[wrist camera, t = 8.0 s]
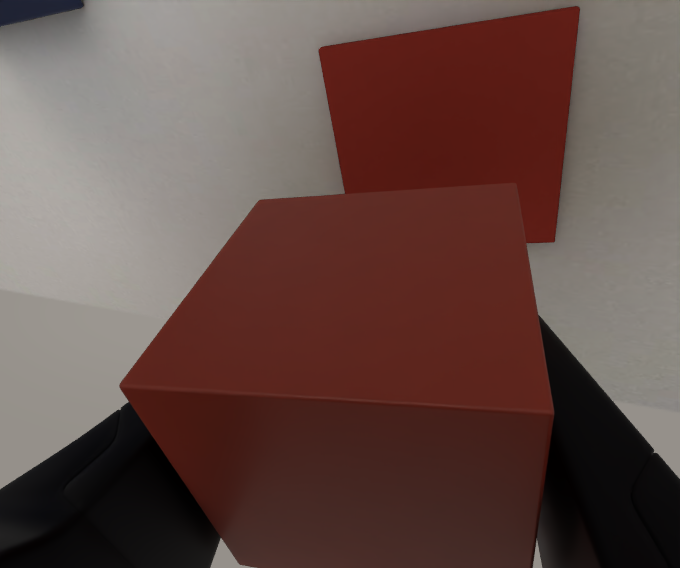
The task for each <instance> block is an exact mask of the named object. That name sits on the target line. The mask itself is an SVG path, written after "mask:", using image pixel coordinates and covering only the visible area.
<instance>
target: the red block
mask: <svg viewBox="0 0 680 568" xmlns="http://www.w3.org/2000/svg"><path fill="white" fill-rule="evenodd" d="M120 389H121V390H122V392H123V393H124V395H125V396H126V398H127V399H128V401H129V402H130V404H131V405H132V407H133V408H134V410H135V411H136V413H137V414H138V416H139V417H140V419H141V420H142V422H143V423H144V424H145V426H146V427H147V429H148V430H149V432H150V433H151V435H152V436H153V438H154V439H155V441H156V442H157V444H158V445H159V447H160V448H161V450H162V451H163V452H164V454H165V455H166V457H167V458H168V460H169V461H170V463H171V464H172V466H173V467H174V469H175V470H176V472H177V473H178V475H179V476H180V478H181V479H182V481H183V482H184V483H185V485H186V486H187V488H188V489H189V491H190V492H191V494H192V495H193V497H194V498H195V500H196V501H197V503H198V504H199V506H200V507H201V509H202V510H203V512H204V513H205V514H206V516H207V517H208V519H209V520H210V522H211V523H212V525H213V526H214V528H215V529H216V531H217V532H218V534H219V535H220V537H221V538H222V540H223V541H224V542H225V544H226V545H227V547H228V548H229V550H230V551H231V553H232V554H233V556H234V557H235V559H236V560H237V562H238V563H239V564H240V565H245V566H250V567H257V568H533V561H534V554H535V547H536V539H537V532H538V525H539V518H540V511H541V504H542V497H543V490H544V483H545V476H546V469H547V462H548V455H549V447H550V440H551V433H552V426H553V419H554V407H553V401H552V395H551V389H550V383H549V377H548V371H547V365H546V359H545V353H544V347H543V341H542V335H541V329H540V323H539V317H538V311H537V305H536V299H535V293H534V287H533V281H532V275H531V269H530V263H529V257H528V251H527V245H526V239H525V233H524V227H523V221H522V215H521V209H520V203H519V197H518V191H517V185H516V183H504V184H489V185H474V186H459V187H444V188H429V189H414V190H399V191H384V192H369V193H354V194H339V195H324V196H309V197H294V198H279V199H264V200H259V201H258V202H257V203H256V205H255V206H254V207H253V208H252V210H251V211H250V212H249V214H248V215H247V216H246V218H245V219H244V220H243V222H242V223H241V224H240V226H239V227H238V228H237V230H236V231H235V232H234V234H233V235H232V236H231V238H230V239H229V240H228V242H227V243H226V244H225V245H224V247H223V248H222V249H221V251H220V252H219V253H218V255H217V256H216V257H215V259H214V260H213V261H212V263H211V264H210V265H209V267H208V268H207V269H206V271H205V272H204V273H203V275H202V276H201V277H200V279H199V280H198V281H197V282H196V284H195V285H194V286H193V288H192V289H191V290H190V292H189V293H188V294H187V296H186V297H185V298H184V300H183V301H182V302H181V304H180V305H179V306H178V308H177V309H176V310H175V312H174V313H173V314H172V316H171V317H170V318H169V320H168V321H167V322H166V324H165V325H164V326H163V327H162V329H161V330H160V332H159V333H158V334H157V336H156V337H155V338H154V339H153V341H152V342H151V343H150V345H149V346H148V347H147V349H146V350H145V351H144V353H143V354H142V355H141V357H140V358H139V359H138V360H137V362H136V363H135V365H134V366H133V367H132V368H131V370H130V371H129V372H128V374H127V375H126V377H125V378H124V379H123V380H122V382H121V383H120Z"/></svg>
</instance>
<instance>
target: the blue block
mask: <svg viewBox="0 0 680 568" xmlns="http://www.w3.org/2000/svg"><path fill="white" fill-rule="evenodd" d="M82 7H83V3H82V1H81V0H0V27H1V26H5V25H10V24H14V23H18V22H23V21H27V20H31V19H36V18H40V17H45V16H49V15H53V14H58V13H62V12H66V11H71V10H75V9H79V8H82Z"/></svg>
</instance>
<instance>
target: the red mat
mask: <svg viewBox="0 0 680 568" xmlns="http://www.w3.org/2000/svg"><path fill="white" fill-rule="evenodd" d="M579 12H580V8H579V7H578V6H574V7H568V8H561V9H555V10H549V11H543V12H536V13H530V14H524V15H518V16H511V17H505V18H499V19H493V20H486V21H480V22H474V23H468V24H461V25H455V26H449V27H443V28H436V29H430V30H424V31H418V32H411V33H405V34H399V35H393V36H386V37H380V38H374V39H368V40H361V41H355V42H349V43H343V44H336V45H330V46H324V47H321V48H320V49H319V56H320V61H321V67H322V72H323V77H324V83H325V88H326V93H327V99H328V104H329V110H330V115H331V120H332V126H333V131H334V136H335V142H336V147H337V152H338V158H339V163H340V169H341V174H342V179H343V185H344V190H345V194H354V193H369V192H384V191H399V190H414V189H429V188H444V187H459V186H474V185H489V184H504V183H516V185H517V191H518V197H519V203H520V209H521V215H522V221H523V227H524V233H525V239H526V243H549V242H555V234H556V225H557V216H558V207H559V197H560V188H561V179H562V170H563V160H564V151H565V142H566V133H567V123H568V114H569V105H570V96H571V86H572V77H573V68H574V59H575V49H576V40H577V31H578V22H579Z"/></svg>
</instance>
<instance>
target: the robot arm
mask: <svg viewBox="0 0 680 568" xmlns="http://www.w3.org/2000/svg"><path fill="white" fill-rule="evenodd" d="M538 317H539V323H540V329H541V335H542V341H543V347H544V353H545V359H546V365H547V371H548V377H549V383H550V389H551V395H552V401H553V407H554V419H553V426H552V433H551V440H550V447H549V455H548V462H547V469H546V476H545V483H544V490H543V497H542V504H541V511H540V518H539V525H538V532H537V541H538V546H539V552H540V557H541V562H542V567H543V568H680V479H679V478H678V477H677V475H675V473H674V472H673V471H672V470H671V469H670V467H669V466H668V465H667V464H666V463H665V461H664V460H663V459H662V458H661V457H660V456H659V455H658V454H657V453H653V452H654V449H653V448H652V447H651V445H650V444H649V443H648V442H647V441H646V440H645V438H644V437H643V436H642V435H641V434H640V433H639V431H638V430H637V429H636V428H635V427H634V426H633V424H632V423H631V422H630V421H629V420H628V419H627V417H626V416H625V415H624V414H623V413H622V412H621V410H620V409H619V408H618V407H617V406H616V405H615V403H614V402H613V401H612V400H611V399H610V398H609V396H608V395H607V394H606V393H605V392H604V390H603V389H602V388H601V387H600V386H599V385H598V383H597V382H596V381H595V380H594V379H593V378H592V376H591V375H590V374H589V373H588V372H587V371H586V369H585V368H584V367H583V366H582V365H581V364H580V362H579V361H578V360H577V359H576V358H575V357H574V355H573V354H572V353H571V352H570V351H569V350H568V348H567V347H566V346H565V345H564V344H563V343H562V341H561V340H560V339H559V338H558V337H557V336H556V334H555V333H554V332H553V331H552V330H551V329H550V327H549V326H548V325H547V324H546V323H545V322H544V320H543V319H542V318H541V317H540V316H539V315H538ZM220 538H221V537H220V535H219V534H218V532H217V531H216V529H215V528H214V526H213V525H212V523H211V522H210V520H209V519H208V517H207V516H206V514H205V513H204V512H203V510H202V509H201V507H200V506H199V504H198V503H197V501H196V500H195V498H194V497H193V495H192V494H191V492H190V491H189V489H188V488H187V486H186V485H185V483H184V482H183V481H182V479H181V478H180V476H179V475H178V473H177V472H176V470H175V469H174V467H173V466H172V464H171V463H170V461H169V460H168V458H167V457H166V455H165V454H164V452H163V451H162V450H161V448H160V447H159V445H158V444H157V442H156V441H155V439H154V438H153V436H152V435H151V433H150V432H149V430H148V429H147V427H146V426H145V424H144V423H143V422H142V420H141V419H140V417H139V416H138V414H137V413H136V411H135V410H134V408H133V407H132V405H131V404H130V402H128V403H127V404H125V405H124V406H123V407H121V410H117V411H116V412H114V413H113V414H112V415H110V416H109V417H108V418H106V419H105V420H103V421H102V422H101V423H99V424H98V425H96V426H95V427H94V428H92V429H91V430H89V431H88V432H87V433H85V434H84V435H82V436H81V437H80V438H78V439H77V440H75V441H74V442H72V443H71V444H69V445H68V446H66V447H65V448H63V449H62V450H60V451H59V452H57V453H56V454H54V455H53V456H51V457H50V458H48V459H47V460H45V461H43V462H42V463H40V464H39V465H37V466H36V467H34V468H32V469H31V470H29V471H28V472H26V473H25V474H23V475H22V476H20V477H18V478H17V479H16V480H14V481H12V482H11V483H9V484H8V485H6V486H5V487H3V488H2V489H0V568H210V567H211V563H212V561H213V558H214V555H215V552H216V550H217V547H218V544H219V541H220Z"/></svg>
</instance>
